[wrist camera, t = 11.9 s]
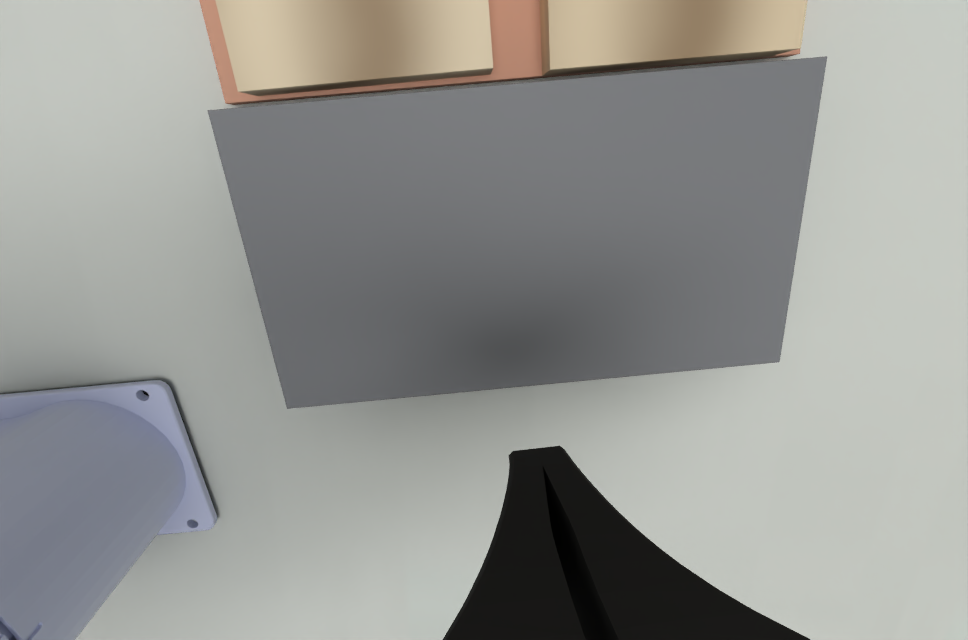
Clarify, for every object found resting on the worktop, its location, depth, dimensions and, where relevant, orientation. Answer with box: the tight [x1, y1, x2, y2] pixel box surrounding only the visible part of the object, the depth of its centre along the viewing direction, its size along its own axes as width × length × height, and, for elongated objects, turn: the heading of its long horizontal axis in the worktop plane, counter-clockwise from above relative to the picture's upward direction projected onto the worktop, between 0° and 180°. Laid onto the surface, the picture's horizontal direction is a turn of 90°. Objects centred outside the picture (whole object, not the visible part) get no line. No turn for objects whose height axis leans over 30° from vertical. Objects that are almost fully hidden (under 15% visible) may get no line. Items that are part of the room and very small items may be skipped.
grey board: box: [208, 57, 827, 409], centre depth 18 cm, size 20×11×2 cm, turn 95°
